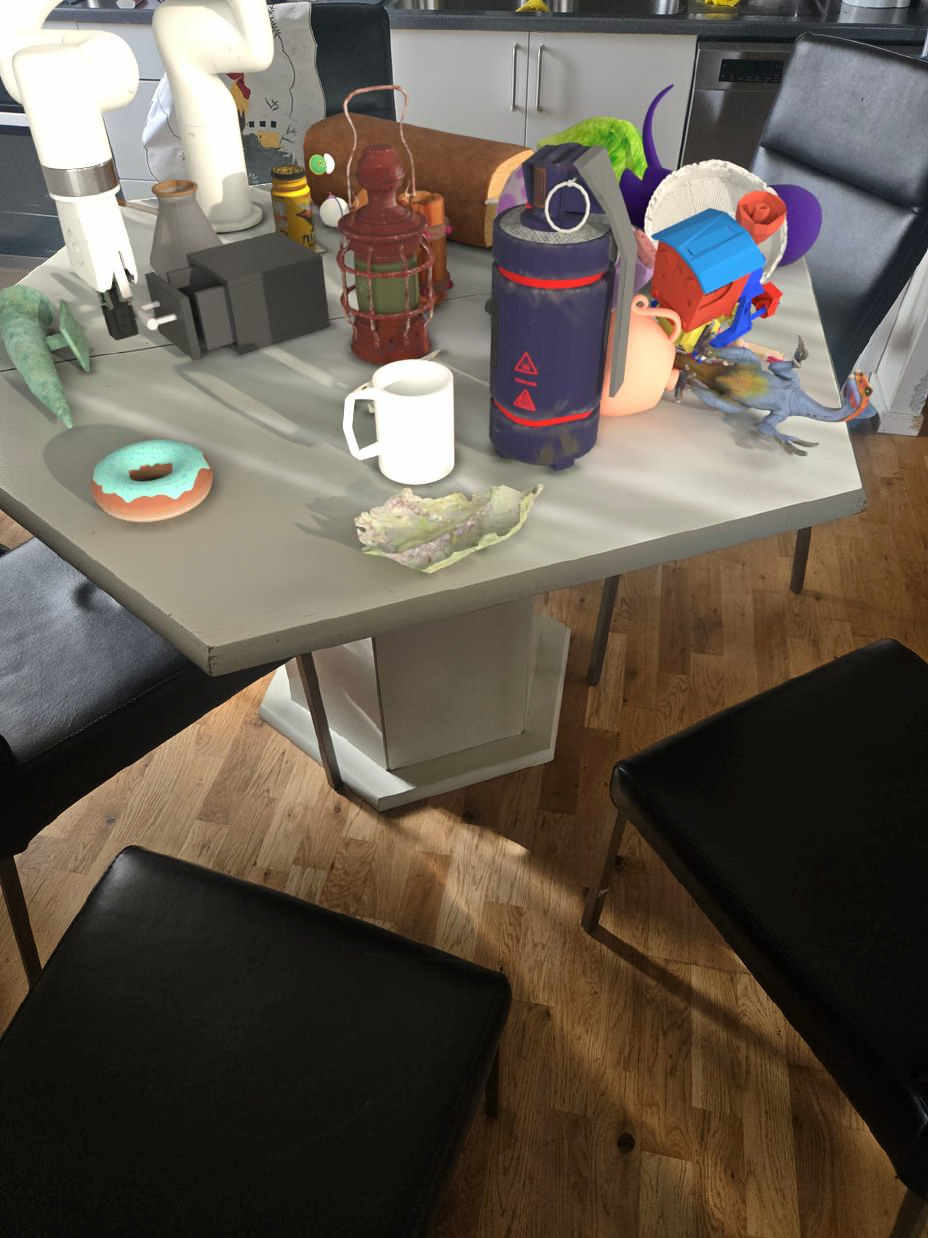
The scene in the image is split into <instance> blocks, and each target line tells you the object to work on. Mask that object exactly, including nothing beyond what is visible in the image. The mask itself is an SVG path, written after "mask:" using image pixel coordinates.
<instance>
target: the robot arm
mask: <svg viewBox="0 0 928 1238" xmlns="http://www.w3.org/2000/svg"><path fill="white" fill-rule="evenodd" d="M63 1H64V0H0V79H1V82H2V85H3V86H4V88H5V90H6V91H7V93H8V94H9V96H10V97H11V98H12V99H13V100H14V101H16V102H17V103H18V104H20V105H22V107H23V110H24V115H25V117H26V121H27V123H28V126H29V130H30V133H31V137H32V140H33V143H34V146H35V147H34V148H35V150H36V153H37V156H38V160H39V163H40V168H41V170H42V174H43V178H44V181H45V184H46V188H47V190H48V194H49V197H50V198H51V199H53V200H55V201H54V202H55V206H56V211H57V215H58V220H59V225H60V227H61V232H62V236H63V241H64V245H65V248H66V251H67V255H68V260H69V263H70V266H71V269H72V271H73V272H74V273H75V274H76V275H77V276H78V277H79V278H80V279H82V280H83V281H84V282H85V283H86V284H87V285H88V286H90V287H91V288H92V289H94V290H95V291H96V294H97V297H98V301H99V303H100V304H101V305H100V307H101V312H102V314H103V319H104V322H105V325H106V328H107V329H106V330H107V332H108V335H109V336H110V337H111V338H112V339H113V340H114V341H121V340H124V339H128V338H131V337H135V336H137V335H139V334H140V333H139V332H140V331H139V327H138V323H137V320H136V319H137V318H135V315H134V311H133V308H132V303H133V302H132V301H133V300H134V295H133V292H132V289H131V286H130V285H136V284H137V282H138V280H139V276H138V275H139V274H138V270H137V265H136V260H135V256H134V252H133V249H132V245H131V241H130V239H129V234H128V232H127V228H126V225H125V221H124V218H123V214H122V212H121V209H120V206H118V203H117V200H116V198H117V197H116V194H117V193H119V191H120V190H121V186H120V185H121V184H120V183H119V178H118V173H117V169H116V166H115V162H114V161H115V160H114V157H113V154H112V149H111V146H110V142H109V138H108V134H107V130H106V126H105V121H104V117H103V114H105V113H108V112H109V113H110V112H113V111H118V110H121V109H123V108H125V107H127V106H128V105H129V104H130V103H131V102H132V101H133V99H134V98H135V96H136V94H137V91H138V87H139V83H140V71H139V65H138V63H137V59H136V57H135V56H136V55H135V54H134V52H133V50H132V49H131V47H130V45H129V44H128V43H127V42H126V41H125V40H124V38H122V37H121V36H119V35H117V34H116V33H113V32H111V31H107V30H101V29H71V28H67V29H64V28H60V29H59V28H58V29H57V28H55V29H53V28H52V29H51V28H47V29H46V28H43V26H44V23H45V21H46V19H47V18H48V16H49V15H50V13H51V12H52V11H54V9H55V8H56V7H57V6H59V5H60V4H61V3H62V2H63ZM151 19H152V20H151V23H152V24H151V26H152V35H153V38H154V39H153V40H154V42H155V45H156V49H157V51H158V54H159V57H160V59H161V63H162V65H163V68H164V71H165V75H166V77H167V81H168V86H169V89H170V93H171V97H172V102H173V107H174V111H175V116H176V122H177V127H178V132H179V137H180V141H181V147H182V152H183V156H184V161H185V162H184V163H185V167H186V172H187V177H188V181H193V182H195V183H196V184H197V185H198V189H197V190H196V201H197V203H198V205H199V206H200V208H201V209H202V211H203V213H204V214H205V216H206V217H207V219H208V221H209V222H210V224H211V225H212V227H213V229H214V230H215V232H216V233H232V232H238V231H243V230H247V229H250V228H252V227H254V226H256V225H258V224H259V223H260V222H262V221H263V210H262V208H260V206H258V205H256V204H253V203H252V198H251V191H250V185H249V184H250V183H249V178H248V173H247V166H246V161H245V160H246V159H245V153H244V145H243V140H242V135H241V128H240V122H239V121H240V120H239V114H238V107H237V103H236V101H235V99H234V97H233V95H232V93H231V91H230V90H229V89H228V87H227V86H226V85H225V83H224V82H223V81H222V80H221V78H220V77H219V76H218V75H217V74H223V73H224V74H228V73H229V74H230V73H231V74H233V73H235V74H241V73H242V74H250V73H251V74H252V73H260V72H264V71H266V70H267V69H268V68H269V67H270V66H271V65H272V63H273V60H274V55H275V54H274V53H275V44H274V35H273V28H272V24H271V18H270V13H269V9H268V5H267V0H164V1H162V2H161V3H160V4H158V5H157V6H156V8H155V9H154V12H153V14H152V18H151Z"/></svg>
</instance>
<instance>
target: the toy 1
mask: <svg viewBox="0 0 928 1238" xmlns="http://www.w3.org/2000/svg"><path fill="white" fill-rule="evenodd" d="M309 165H310V168H311V170H312V171H313V172H314V173H315V174H318V175H320V174H323V173H324V172H325V171H326V173H327V174H330V173H331V172H332V171H333V170H334V167H335V163H334V160H333V158H332V157H331V156H330V155H329V154H324V158H323V157H322V156H320V155H314V156H312V157H311V159H310V162H309ZM329 193H330V192H329ZM347 213H350V211H349V207H348V205H347V203H346V202H345V201H344V200H343V199H341V198H337V197H335V196H333V195H332V194H330V196H329V197H328V198H327V200H326V201H325V202H324V203H323V204H322V206H320V207H319V210H318V216H319V219H320V220H321V222H322V223H323V224H324V225H325V226H328V227H331V228H335V229H336V230H338V231H339V228H338V221H339V219H340V218H341V217H342V216H344V215H345V214H347ZM339 233H341V232H340V231H339Z"/></svg>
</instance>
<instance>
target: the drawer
mask: <svg viewBox="0 0 928 1238" xmlns="http://www.w3.org/2000/svg"><path fill="white" fill-rule="evenodd" d="M166 276H167V280H166V279H164V278H162V277H161V276H159V275H158V274H157V273H156V272H155V271H151V272H147V273H145V274H144V277H145V282H146V285H147V289H148V294H149V298H150V301H151V302H147V303H146V302H145V303H142V304H139V305H138V304H137V303H135V302H132V308H133V311H134V315H135V319H137V320H138V321H139V322H140V323H141V324H143V325H144V326H145V327H146V328H147V329H149V330H150V331H155V330H158V333H160V334H161V335H162V336H163V337H164V338H165V339H167V340H168V341H169V342H170V343H172V344H173V345H174V346H175V347H176V348H178V349H179V350H180V351H182V353H184V354H185V355H186V356H187V357H188V358H190V359H191V360H192V361H194V360H198V359H201V358H202V352H201V349H200V345H201V346H202V347H204V349H206V350H207V351H212V350H214V349H217V348H221V347H225V346H228V345H227V344H231V343H234V342H236V338H235V333H234V328H233V322H232V317H231V312H230V306H229V301H228V295H227V290H226V286H225V285H224V284H222V283H221V282H219V281H218V280H216V279H215V278H213V277H212V276H210V275H209V274H207V273H206V272H205V271H203V270H202V269H200V268H199V267H197V266H196V265H192V266H189V267H185V268H181V269H177V270H173V271H169V272H166ZM151 309H152V310H153V314H154V317H153V316H152V315H151V314H150V313H148V311H147V310H151Z"/></svg>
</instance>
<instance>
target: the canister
mask: <svg viewBox="0 0 928 1238" xmlns="http://www.w3.org/2000/svg"><path fill="white" fill-rule="evenodd" d="M521 164H522V170H523V177H524V183H525V189H526V196H527V203H525V204H520V205H516V206H513V207H510V208H508V209H506V210H504V211H502V212H501V213H499V214H498V215H497V216H496V218H495V219H494V220H493V242H492V246H491V247H492V248H491V250H492V251H491V257H492V260H493V261H492V265H491V297H490V298H491V315H490V351H489V352H490V355H489V356H490V358H489V359H490V360H489V394H490V397H489V424H488V428H489V429H488V432H489V433H488V434H489V435H488V436H489V440H490V443H491V444H492V445H493V447H494V449H495V452H496V454H497V455H498V456H499V458H500V459H508V458H510V459H512V460H513V461H517V462H520V463H523V464H527V465H528V464H529V465H533V466H549V468H550V469H551V470H553V471H555V472H558V471H562V470H565V469H568V468H571V467H573V466H575V460H576V459H580V458H582V457H584V456H585V455H586V454H589V453H590V452H591V450H592V449H593V448H594V447H595V445H596V443H597V439H598V430H599V423H600V422H599V421H600V415H599V414H600V401H601V399H602V390H603V381H604V372H605V364H606V355H607V346H608V337H609V328H610V319H611V312H612V311H613V310H612V301H613V292H614V283H615V274H616V267H615V263H616V261H617V256H618V250H619V253H620V256H621V265H620V276H619V287H618V298H617V308H615V310H616V320H615V331H614V342H613V353H612V364H611V375H610V386H609V397H611V398H614V397H615V395H616V394H617V393H618V391H619V390H620V388H621V386H622V384H623V383H624V376H625V366H626V356H627V346H628V336H629V326H630V317H631V307H632V297H634V294H633V287H634V277H635V267H636V258H637V248H638V245H637V242H636V238H635V235H634V232H633V229H632V226H633V225H631V222H630V219H629V216H628V212H627V209H626V206H625V203H624V199H623V196H622V193H621V191H620V188H619V185H618V182H617V179H616V176H615V173H614V170H613V167H612V164H611V161H610V158H609V155H608V152H607V149H606V147H604V146H599V145H593V146H583V145H582V144H580V143H575V142H569V143H564V144H559V145H545V146H543V147H542V148H541V149H539V150H538V151H537V150H536V151H535V153H534V154H533V155H532V156H530V157H529V158H528V159H526V160H525V161H524V162H523V163H521ZM611 310H612V311H611Z"/></svg>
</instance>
